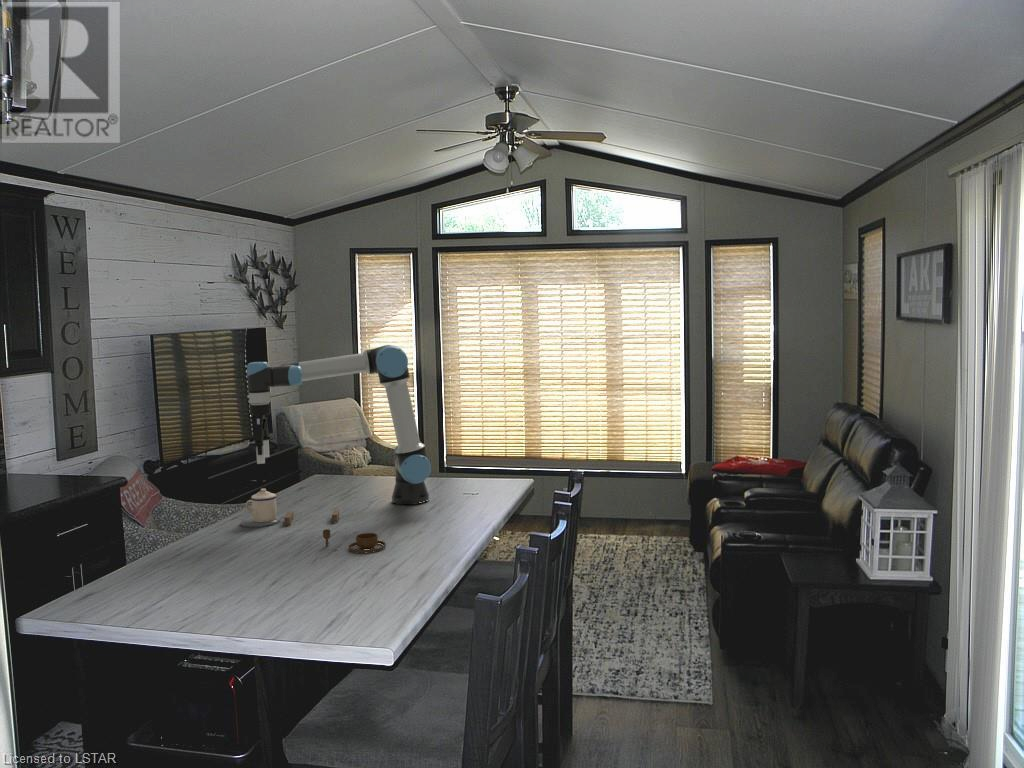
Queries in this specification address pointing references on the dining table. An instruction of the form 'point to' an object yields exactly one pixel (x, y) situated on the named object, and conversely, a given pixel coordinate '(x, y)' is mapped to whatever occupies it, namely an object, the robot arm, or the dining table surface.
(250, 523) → the grey flat disc
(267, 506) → the teacup with lid
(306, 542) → the dining table surface
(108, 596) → the dining table surface
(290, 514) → the walnut cradle
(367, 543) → the place setting
